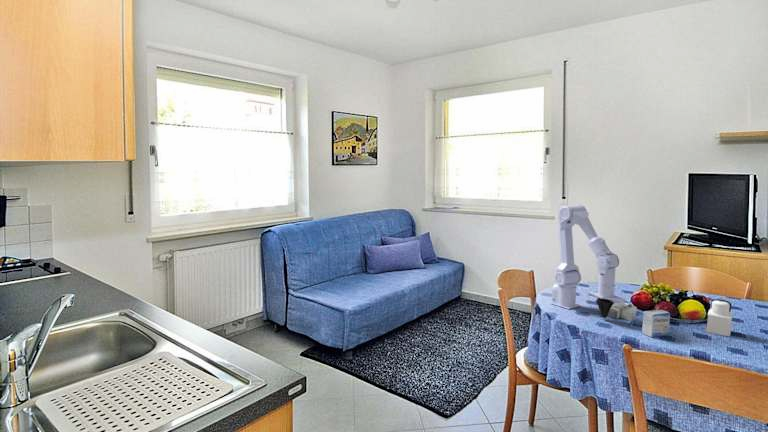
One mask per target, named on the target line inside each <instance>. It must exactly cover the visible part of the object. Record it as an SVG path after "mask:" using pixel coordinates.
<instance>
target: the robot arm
mask: <svg viewBox="0 0 768 432" xmlns="http://www.w3.org/2000/svg"><path fill="white" fill-rule="evenodd" d="M574 225H578V226H579V228H581V231H582V232H583V233H584V234H585V236H586V238H588V240H589V243H588V246H589V247H590V249H591V251H592V253H593V254H594V256H595V258H596V259H597V260H595V264H596V266H597V271H598V284H597V285H598V286H597V291H596V290H591V289H590V290H587V291H586V292H587V293H586V296H587V297H594V298H597V299H595V303H596V304H597V307H599V309H600V317H601V318H603V319H606V318H608V317H609V316H608V313H609V310H610V308H611V307H613V306H614V305H613V304H614V302H615V303H619V304H621V305H623V304H625V303H626V299H625V298H623V297H620V296H617V295H615V283H616V282H615V281H616V268H617V267H618V266H619V265H620V258H619V256H618V255H617V254H616V253H614V252H613V251H611V249H610V248H609V247H608V245H607V243H606V240H605V239H604V238H603V237H600V236H598V234H597V232H596V230H595V228H594V226H593V224H592V222H591V219H590V218H589V212H588V210H587V208H586V207H585V205H583V204H578V205H564V206H562V207H561V208H560V209H559V210H558V222H557V227H558V241H559V242H558V244H559V246H558V247H559V258H560V264H559V265H558V266H557V267H556V268H555V275H554V280H555V283H554V284H553V286H552V288H551V290H552V291H551V292H552V293H551V301H550V305H555V306H557V307H561V308H564V309H568V310H571V309H575V308H578V307H580V304H578V303H576V301H577V300H576V299H577V287H578V285H579V284H580V282H582V281H581V280H582V275H581V273H580V269H579V266H578V265H577V264H576V263H575V258H574V256H575V255H574V240H573V239H574V238H573V227H574Z"/></svg>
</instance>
